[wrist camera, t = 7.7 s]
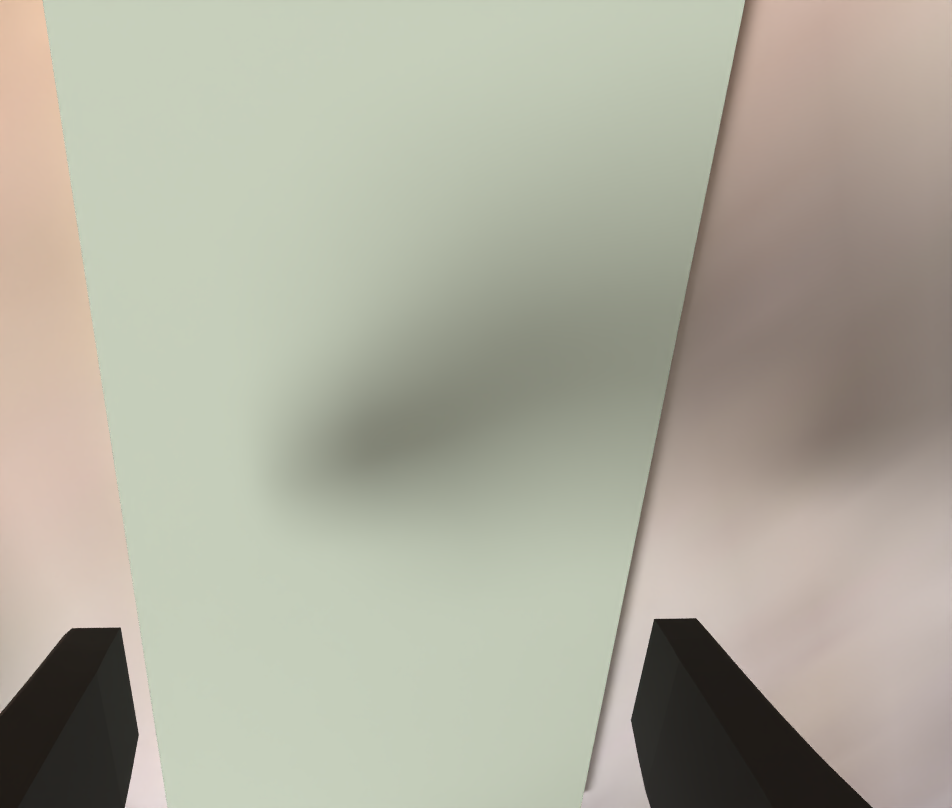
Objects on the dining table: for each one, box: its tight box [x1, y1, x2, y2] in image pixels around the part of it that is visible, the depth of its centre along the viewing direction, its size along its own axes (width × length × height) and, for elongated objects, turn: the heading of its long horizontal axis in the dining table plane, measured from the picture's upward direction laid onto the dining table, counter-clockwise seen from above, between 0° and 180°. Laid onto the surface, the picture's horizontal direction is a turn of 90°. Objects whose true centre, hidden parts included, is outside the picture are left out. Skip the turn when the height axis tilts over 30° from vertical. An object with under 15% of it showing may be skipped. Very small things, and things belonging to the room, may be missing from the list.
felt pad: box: [43, 0, 745, 808], centre depth 16 cm, size 17×9×1 cm, turn 176°
